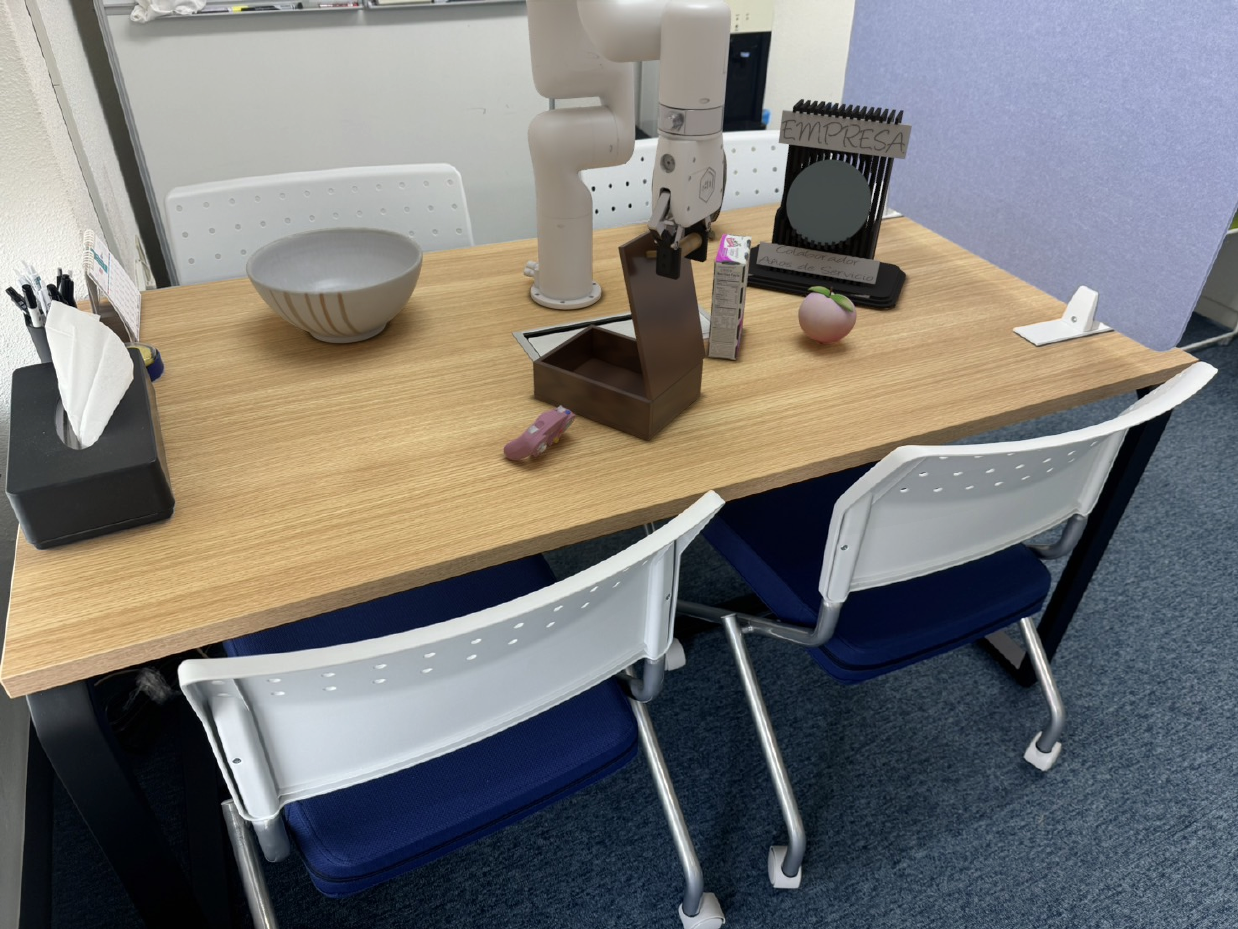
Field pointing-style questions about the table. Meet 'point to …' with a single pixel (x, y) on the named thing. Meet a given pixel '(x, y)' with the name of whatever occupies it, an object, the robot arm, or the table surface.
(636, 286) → the chest lid
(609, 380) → the chest
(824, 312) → the decorative fruit
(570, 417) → the video game controller
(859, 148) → the award
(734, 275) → the candy bar box
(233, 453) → the table surface
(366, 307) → the decorative bowl
